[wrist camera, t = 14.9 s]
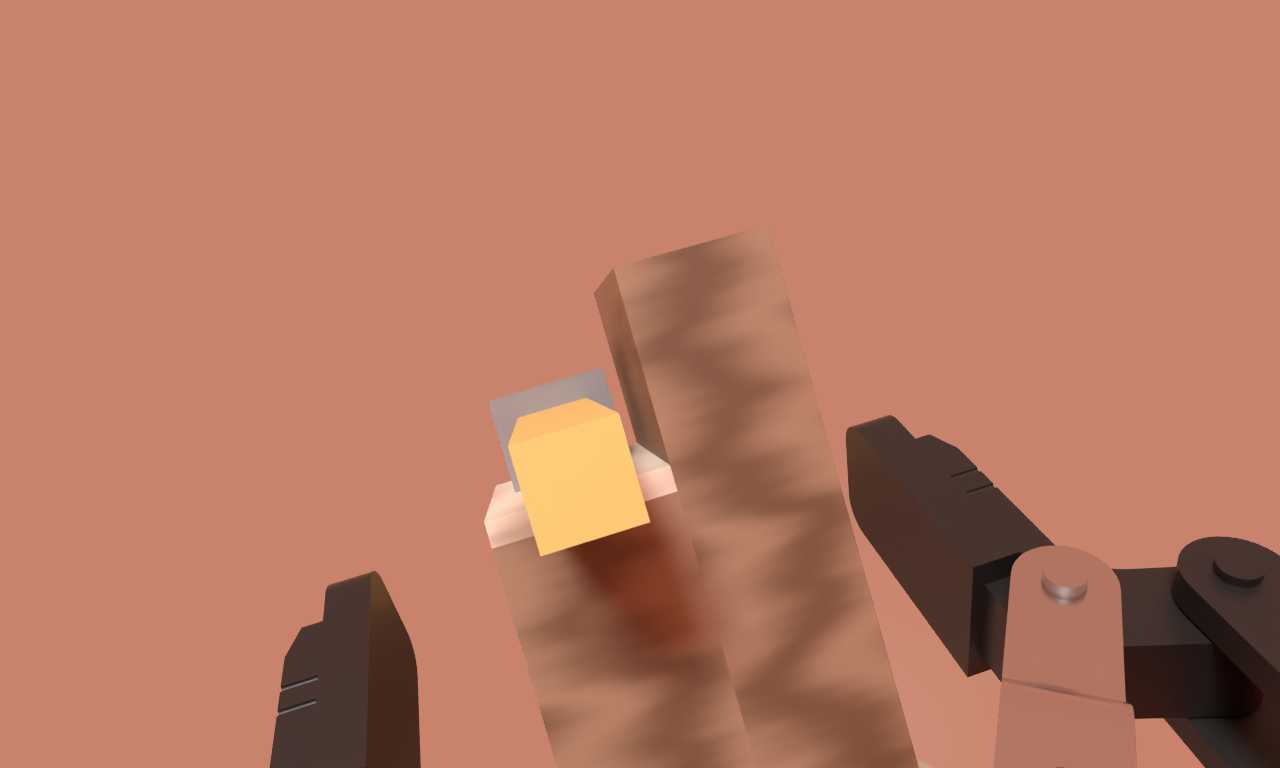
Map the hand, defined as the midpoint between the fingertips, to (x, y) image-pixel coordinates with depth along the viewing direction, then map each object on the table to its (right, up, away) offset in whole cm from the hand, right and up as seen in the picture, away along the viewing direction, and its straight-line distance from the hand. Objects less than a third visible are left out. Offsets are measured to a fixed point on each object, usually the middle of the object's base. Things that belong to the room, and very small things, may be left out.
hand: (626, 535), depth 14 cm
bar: (-2, -1, +17) cm, 17 cm away
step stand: (+7, -25, +23) cm, 35 cm away
